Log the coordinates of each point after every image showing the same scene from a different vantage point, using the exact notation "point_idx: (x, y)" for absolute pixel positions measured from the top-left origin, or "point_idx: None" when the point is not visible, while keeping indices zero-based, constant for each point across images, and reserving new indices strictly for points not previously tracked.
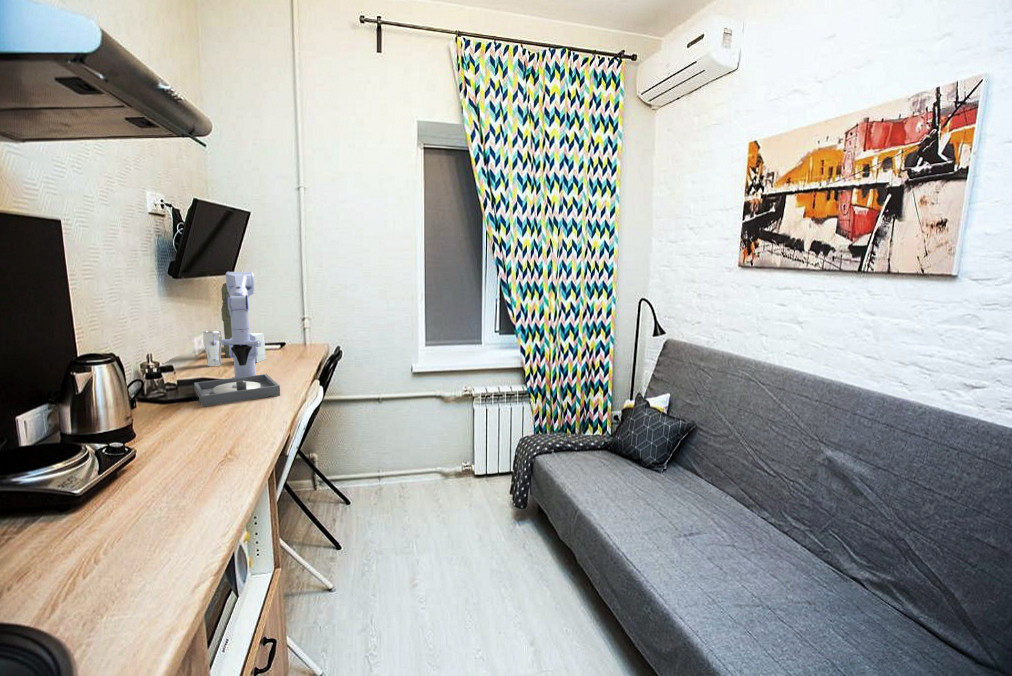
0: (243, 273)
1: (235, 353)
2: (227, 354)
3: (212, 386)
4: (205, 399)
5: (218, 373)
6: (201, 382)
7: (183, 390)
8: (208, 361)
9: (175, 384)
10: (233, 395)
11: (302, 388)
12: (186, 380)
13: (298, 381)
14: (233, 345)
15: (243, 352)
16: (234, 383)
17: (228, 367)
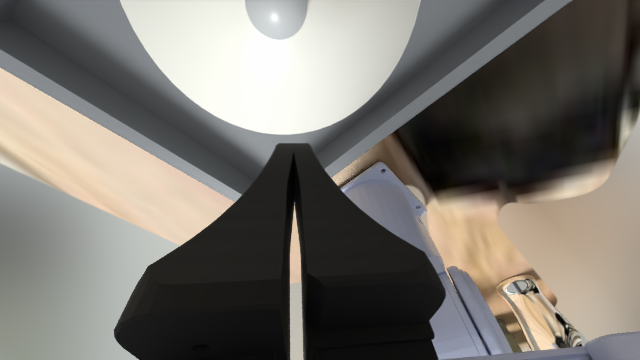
0: None
1: (344, 213)
2: (499, 325)
3: (457, 46)
4: None
5: (487, 238)
6: (537, 6)
7: (599, 12)
8: (536, 287)
9: (630, 106)
10: None
11: (48, 157)
12: (584, 161)
13: (173, 227)
14: (432, 357)
15: (195, 236)
16: (342, 83)
17: (473, 277)
